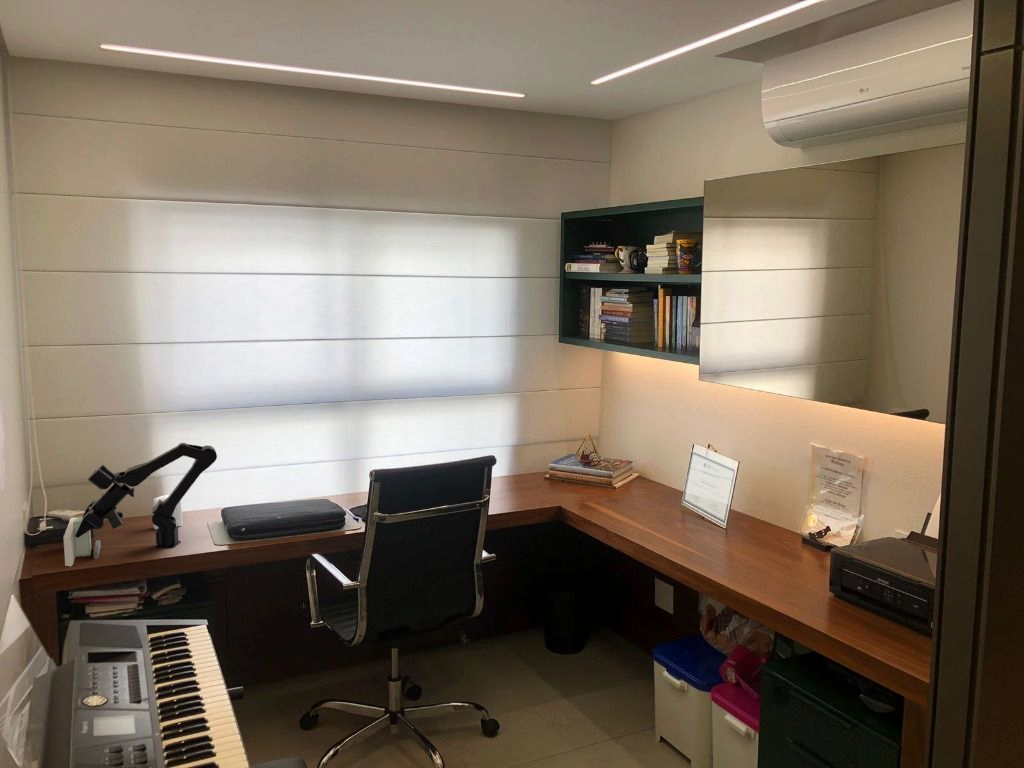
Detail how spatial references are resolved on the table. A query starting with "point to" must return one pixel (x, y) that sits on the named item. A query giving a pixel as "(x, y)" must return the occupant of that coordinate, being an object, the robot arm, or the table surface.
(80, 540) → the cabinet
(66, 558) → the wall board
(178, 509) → the photo printer
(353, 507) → the table surface
